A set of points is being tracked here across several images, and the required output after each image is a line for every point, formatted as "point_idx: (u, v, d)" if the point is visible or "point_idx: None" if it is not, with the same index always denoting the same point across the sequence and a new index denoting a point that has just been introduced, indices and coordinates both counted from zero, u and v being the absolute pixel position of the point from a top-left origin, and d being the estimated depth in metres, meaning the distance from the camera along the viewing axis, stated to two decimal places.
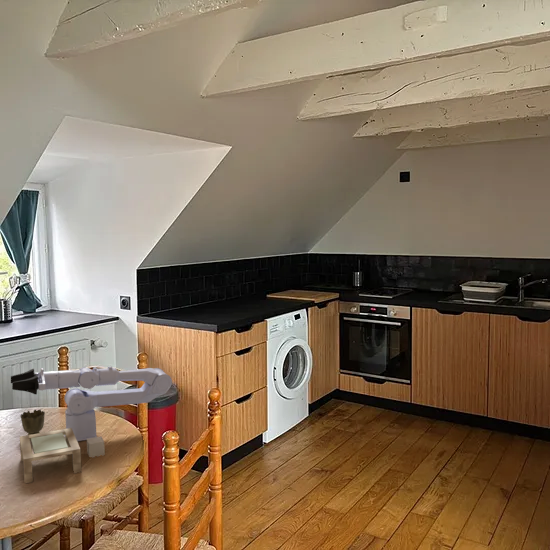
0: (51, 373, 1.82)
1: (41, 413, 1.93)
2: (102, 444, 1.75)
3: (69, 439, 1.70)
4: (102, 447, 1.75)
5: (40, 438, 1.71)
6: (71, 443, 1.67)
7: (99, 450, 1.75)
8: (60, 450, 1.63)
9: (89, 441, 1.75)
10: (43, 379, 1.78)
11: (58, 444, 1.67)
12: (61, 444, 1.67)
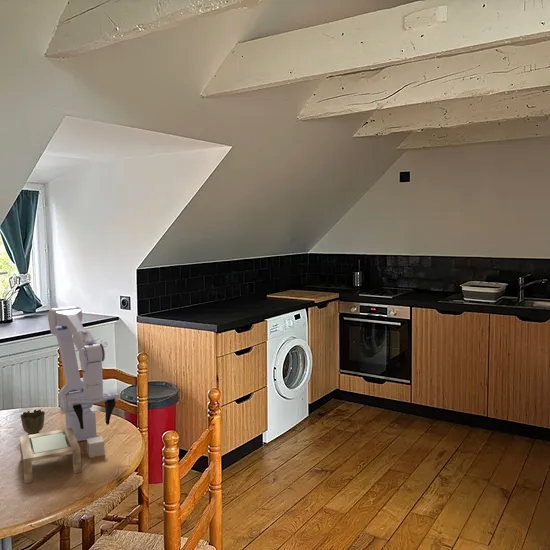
0: (99, 391, 1.73)
1: (41, 413, 1.93)
2: (102, 444, 1.75)
3: (69, 439, 1.70)
4: (102, 447, 1.75)
5: (40, 438, 1.71)
6: (71, 443, 1.67)
7: (99, 450, 1.75)
8: (60, 450, 1.63)
9: (89, 441, 1.75)
10: (109, 397, 1.75)
11: (58, 444, 1.67)
12: (61, 444, 1.67)
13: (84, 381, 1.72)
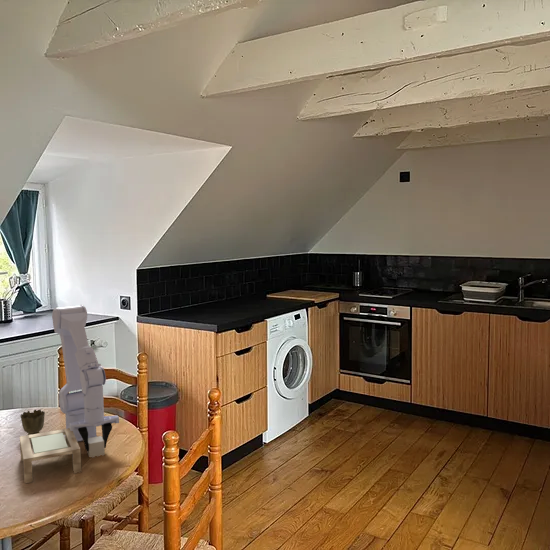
0: (99, 414, 1.74)
1: (41, 413, 1.93)
2: (102, 444, 1.75)
3: (69, 439, 1.70)
4: (102, 447, 1.75)
5: (40, 438, 1.71)
6: (71, 443, 1.67)
7: (99, 450, 1.75)
8: (60, 450, 1.63)
9: (89, 441, 1.75)
10: (110, 420, 1.76)
11: (58, 444, 1.67)
12: (61, 444, 1.67)
13: (85, 405, 1.73)
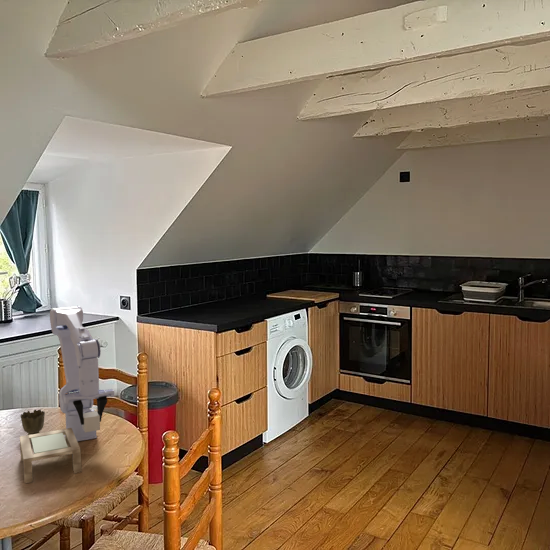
0: (95, 387, 1.72)
1: (41, 413, 1.93)
2: (97, 418, 1.73)
3: (69, 439, 1.70)
4: (97, 421, 1.73)
5: (40, 438, 1.71)
6: (71, 443, 1.67)
7: (94, 425, 1.73)
8: (60, 450, 1.63)
9: (84, 415, 1.73)
10: (105, 393, 1.75)
11: (58, 444, 1.67)
12: (61, 444, 1.67)
13: (80, 377, 1.71)
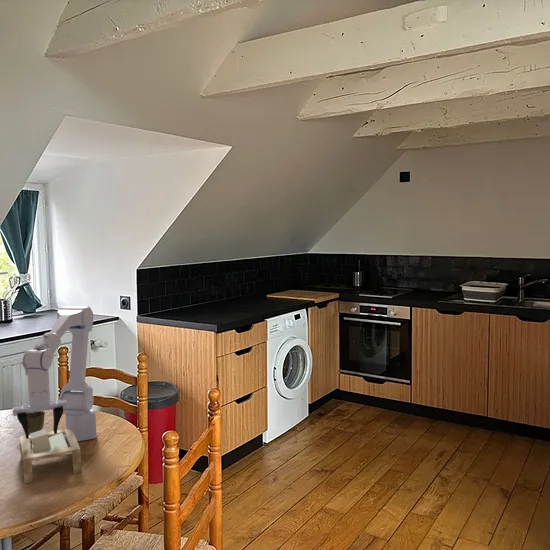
0: (44, 398, 1.64)
1: (41, 413, 1.93)
2: (46, 437, 1.65)
3: (69, 439, 1.70)
4: (47, 440, 1.65)
5: None
6: (71, 443, 1.67)
7: (44, 443, 1.65)
8: (60, 450, 1.63)
9: (32, 436, 1.65)
10: (56, 405, 1.66)
11: (58, 445, 1.67)
12: (61, 445, 1.67)
13: None
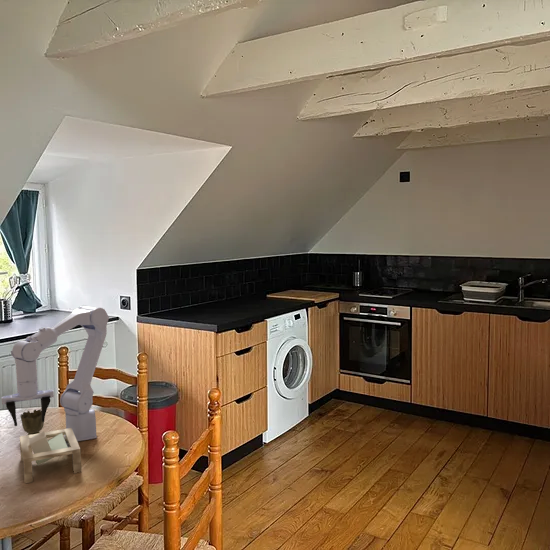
0: (32, 388, 1.72)
1: None
2: (44, 440, 1.65)
3: (69, 439, 1.70)
4: (46, 443, 1.65)
5: None
6: (71, 443, 1.67)
7: (43, 447, 1.65)
8: (60, 450, 1.63)
9: (30, 441, 1.65)
10: (44, 394, 1.74)
11: (58, 446, 1.67)
12: (61, 446, 1.67)
13: None
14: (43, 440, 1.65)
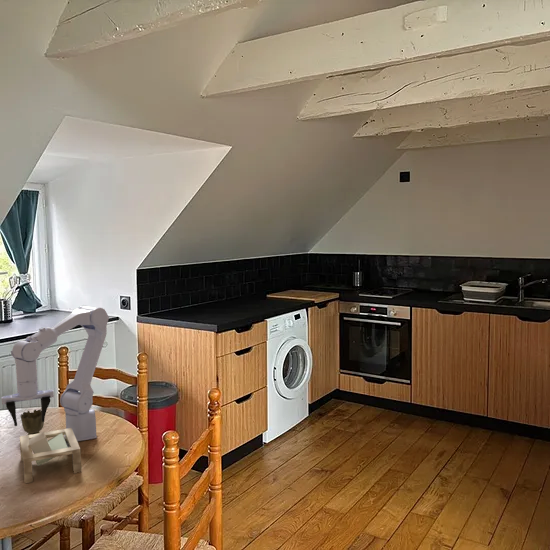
0: (32, 388, 1.72)
1: None
2: (44, 441, 1.65)
3: (69, 439, 1.70)
4: (45, 443, 1.65)
5: None
6: (71, 443, 1.67)
7: (43, 447, 1.65)
8: (60, 450, 1.63)
9: (30, 442, 1.65)
10: (44, 394, 1.74)
11: (58, 446, 1.67)
12: (61, 446, 1.67)
13: None
14: (43, 441, 1.65)
